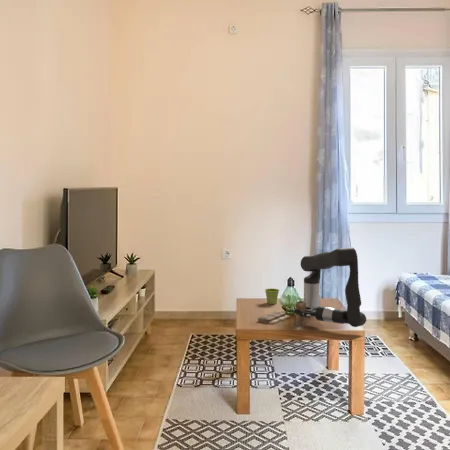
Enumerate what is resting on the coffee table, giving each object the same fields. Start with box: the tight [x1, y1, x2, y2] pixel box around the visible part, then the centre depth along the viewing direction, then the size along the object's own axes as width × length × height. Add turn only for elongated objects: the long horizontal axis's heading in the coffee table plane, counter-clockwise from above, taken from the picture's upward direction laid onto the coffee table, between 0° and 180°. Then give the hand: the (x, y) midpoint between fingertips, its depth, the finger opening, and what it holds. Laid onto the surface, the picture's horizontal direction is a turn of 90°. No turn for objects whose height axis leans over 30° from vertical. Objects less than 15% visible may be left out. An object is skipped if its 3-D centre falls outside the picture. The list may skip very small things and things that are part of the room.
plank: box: [295, 300, 307, 327], centre depth 254 cm, size 4×5×12 cm
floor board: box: [257, 311, 290, 325], centre depth 264 cm, size 18×10×2 cm, turn 143°
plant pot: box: [264, 288, 280, 305], centre depth 304 cm, size 9×9×9 cm
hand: (298, 309), depth 255 cm, fingers open, 8 cm apart
